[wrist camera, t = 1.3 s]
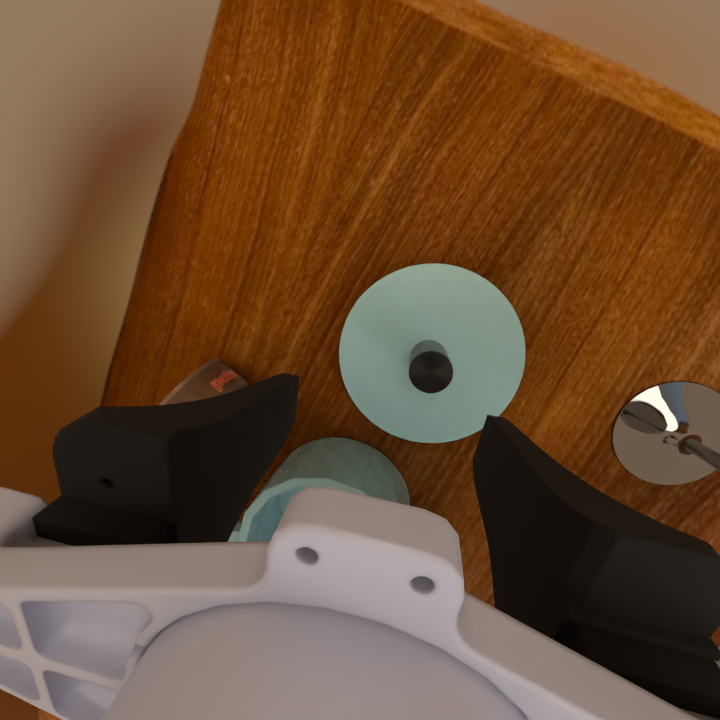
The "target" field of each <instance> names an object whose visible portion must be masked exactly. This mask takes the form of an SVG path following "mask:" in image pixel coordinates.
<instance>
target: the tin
mask: <svg viewBox="0 0 720 720" xmlns="http://www.w3.org/2000/svg"><path fill="white" fill-rule="evenodd" d="M247 386H248V383H247V381H246V380H245V379H244V378H243V377H242V376H241V375H239V374H238V373H237V372H235V371H234V370H233V369H231V368H230V367H229V366H227V365H226V364H225V363H224V361H223V360H222V359H218V358H217V359H214V360H211V361H209V362H207V363H205V364H204V365H202V366H201V367H199V368H198V369H196V370H195V371H194V372H193V373H191V374H190V375H189V376H188V377H187V378H185V379H184V380H183V381H182V382H181V383H180V384H178V385H177V386H176V387H175V388H174V389H173V390H172V391H171V392H170V393H169V394H168V395H167V396H166V398H165V399H164V400H163V401H162V402H161V403H160V404H159V405H168V404H176V403H183V402H189V401H196V400H201V399H206V398H210V397H215V396H218V395H222V394H226V393H229V392H232V391H235V390H238V389H241V388H244V387H247Z"/></svg>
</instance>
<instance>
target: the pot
mask: <svg viewBox="0 0 720 720" xmlns="http://www.w3.org/2000/svg"><path fill="white" fill-rule="evenodd" d="M307 487H332V488H336V489H340V490H345V491H349V492H353V493H357V494H362V495H366V496H370V497H375V498H379V499H383V500H388V501H392V502H396V503H400V504H405V505H409V506H410V499H409V493H408V490H407V487H406V484H405V482H404V480H403V478H402V476H401V474H400V473H399V471H398V470H397V468H396V467H395V466H394V465H393V463H392V462H391V461H390V460H389V459H388V458H386V457H385V456H384V455H383V454H382V453H380V452H379V451H378V450H376V449H374V448H372V447H371V446H369V445H367V444H364V443H362V442H359V441H356V440H352V439H347V438H337V437H331V438H322V439H318V440H314V441H311V442H308V443H306V444H304V445H302V446H300V447H299V448H297V449H296V450H294V451H293V452H292V453H291V454H290V455H289V456H288V457H287V458H286V460H285V461H284V462H283V463H282V464H281V466H280V467H279V468H278V469H277V470H276V472H275V473H274V474H273V476H272V477H271V478H270V480H269V481H268V482H267V484H266V485H265V486H264V487H263V489H262V490H261V491H260V493H259V494H258V495H257V497H256V498H255V499H254V501H253V502H252V503H251V505H250V506H249V507H248V509H247V510H246V511H245V513H244V517H243V521H242V522H237V524H236V526H235V528H234V530H233V532H232V534H231V536H230V538H229V540H228V542H248V541H271V539H272V537H273V535H274V532H275V530H276V528H277V526H278V524H279V522H280V520H281V518H282V516H283V514H284V511H285V509H286V507H287V505H288V503H289V501H290V499H291V497H292V495H294V494H296V493H298V492H300V491H301V490H303V489H305V488H307Z"/></svg>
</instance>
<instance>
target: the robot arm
mask: <svg viewBox="0 0 720 720" xmlns="http://www.w3.org/2000/svg"><path fill="white" fill-rule="evenodd" d="M298 383H299V376H296V375H291V374H286V373H283V374H279V375H276V376H273V377H271V378H268V379H265V380H263V381H260V382H258V383H255V384H252V385H250V386H247V387H244V388H241V389H238V390H235V391H232V392H229V393H226V394H222V395H218V396H215V397H210V398H206V399H201V400H196V401H189V402H183V403H176V404H168V405H156V406H136V407H108V406H100V407H98V408H96V409H94V410H93V411H91V412H89V413H87V414H86V415H84V416H82V417H80V418H79V419H77V420H75V421H74V422H72V423H70V424H68V425H67V426H65V427H63V428H62V429H61V430H60V431H59V432H58V434H57V435H56V436H55V440H54V444H53V458H54V463H55V468H56V472H57V477H58V481H59V485H60V490H61V496H60V497H59V498H57V499H56V500H55V501H53V502H52V503H51V504H50V505H48V503H47V502H46V501H45V500H44V499H43V498H40V497H38V496H36V495H32V494H27V493H24V492H20V491H16V490H12V489H8V488H2V487H0V689H2V690H4V691H6V692H8V693H10V694H13V695H14V696H16V697H19V698H20V699H22V700H24V701H26V702H28V703H30V704H32V705H34V706H36V707H38V708H40V709H42V710H44V711H46V712H48V713H50V714H52V715H54V716H56V717H58V718H60V719H62V720H720V668H719V667H718V665H717V664H716V662H715V661H719V660H720V651H719V649H718V648H717V646H716V645H715V643H714V642H713V641H712V639H711V638H710V637H711V636H712V634H713V633H714V632H715V631H716V629H717V628H718V627H719V626H720V555H719V554H718V553H717V552H716V551H715V550H714V549H713V547H712V546H711V545H710V544H709V543H707V542H705V541H703V540H700V539H698V538H696V537H693V536H691V535H688V534H686V533H684V532H681V531H679V530H676V529H674V528H672V527H669V526H667V525H664V524H662V523H660V522H658V521H656V520H654V519H652V518H650V517H647V516H645V515H643V514H641V513H639V512H637V511H635V510H633V509H631V508H629V507H627V506H625V505H624V504H622V503H620V502H618V501H616V500H614V499H613V498H611V497H609V496H607V495H606V494H604V493H602V492H600V491H599V490H597V489H595V488H594V487H592V486H591V485H589V484H587V483H586V482H584V481H583V480H581V479H580V478H579V477H577V476H576V475H574V474H573V473H571V472H570V471H568V470H567V469H566V468H564V467H563V466H562V465H560V464H559V463H558V462H556V461H555V460H554V459H553V458H551V457H550V456H549V455H548V454H546V453H545V452H544V451H543V450H542V449H540V448H539V447H538V446H537V445H536V444H535V443H533V442H532V441H531V440H530V439H529V438H528V437H527V436H525V435H524V434H523V433H522V432H521V431H520V430H519V429H518V428H516V427H515V426H514V425H513V424H512V423H511V422H509V421H508V420H507V419H505V418H502V417H497V416H492V415H487V417H486V420H485V423H484V427H483V430H482V433H481V436H480V439H479V442H478V445H477V448H476V451H475V454H474V458H473V473H474V484H475V488H476V493H477V497H478V502H479V506H480V510H481V515H482V519H483V523H484V527H485V532H486V536H487V541H488V546H489V553H490V561H491V570H492V579H493V589H494V600H495V608H494V607H492V606H490V605H489V604H487V603H485V602H483V601H481V600H479V599H478V598H476V597H474V596H472V595H470V594H468V593H467V592H465V591H464V577H463V569H462V560H461V552H460V543H459V535H458V534H457V532H456V531H455V530H454V528H453V527H452V526H451V525H450V523H449V522H448V521H447V520H446V519H445V518H443V517H441V516H439V515H436V514H434V513H432V512H430V511H428V510H426V509H422V508H418V507H413V506H409V505H405V504H400V503H396V502H392V501H388V500H383V499H379V498H375V497H370V496H366V495H362V494H357V493H353V492H349V491H345V490H340V489H336V488H332V487H307V488H305V489H303V490H301V491H300V492H298V493H296V494H294V495H292V497H291V499H290V501H289V503H288V505H287V507H286V509H285V511H284V514H283V516H282V518H281V520H280V522H279V524H278V526H277V528H276V530H275V532H274V535H273V537H272V539H271V541H248V542H228V540H229V538H230V536H231V534H232V532H233V530H234V528H235V526H236V524H237V522H238V520H239V518H240V516H241V514H242V512H243V510H244V508H245V506H246V504H247V502H248V500H249V498H250V496H251V494H252V492H253V491H254V489H255V487H256V486H257V484H258V483H259V481H260V480H261V478H262V477H263V475H264V474H265V472H266V471H267V469H268V468H269V466H270V465H271V463H272V462H273V460H274V459H275V457H276V456H277V454H278V453H279V451H280V450H281V448H282V447H283V445H284V444H285V442H286V440H287V438H288V436H289V434H290V432H291V430H292V427H293V425H294V423H295V418H296V406H297V395H298ZM714 660H715V661H714Z"/></svg>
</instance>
